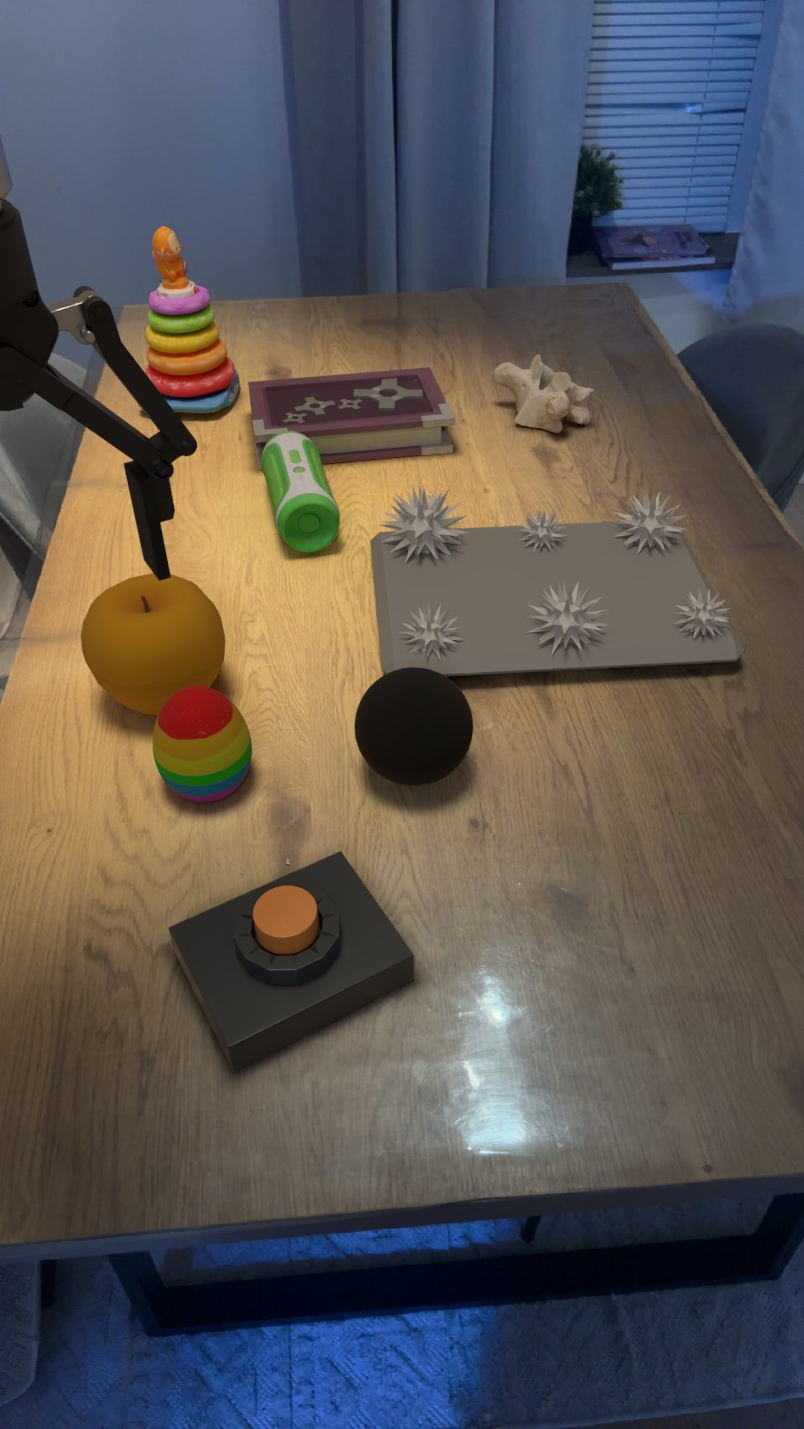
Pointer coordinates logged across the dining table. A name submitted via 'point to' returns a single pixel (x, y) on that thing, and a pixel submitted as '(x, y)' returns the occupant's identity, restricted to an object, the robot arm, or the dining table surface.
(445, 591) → the decorative tray
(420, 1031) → the dining table surface
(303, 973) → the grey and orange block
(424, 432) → the book
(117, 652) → the apple
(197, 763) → the decorative egg
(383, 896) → the dining table surface
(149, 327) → the stacking toy
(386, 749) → the decorative ball
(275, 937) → the orange button
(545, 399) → the decorative object
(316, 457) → the speaker
